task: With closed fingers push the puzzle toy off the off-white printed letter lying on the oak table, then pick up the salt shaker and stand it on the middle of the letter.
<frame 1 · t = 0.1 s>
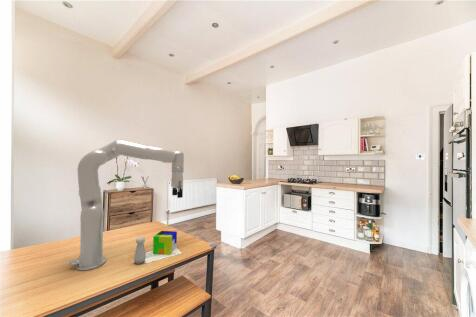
hand: (177, 196, 131), 31 cm above the table, fingers open, 9 cm apart
letter: (161, 253, 117), on the table
salt shaker: (139, 262, 107), on the table
puzzle toy: (165, 250, 121), resting on letter
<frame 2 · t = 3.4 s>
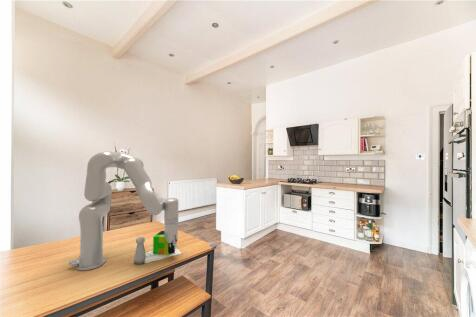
hand: (171, 252, 113), 3 cm above the table, fingers closed
puzzle toy: (165, 250, 121), resting on letter, touching gripper
everything else where it was.
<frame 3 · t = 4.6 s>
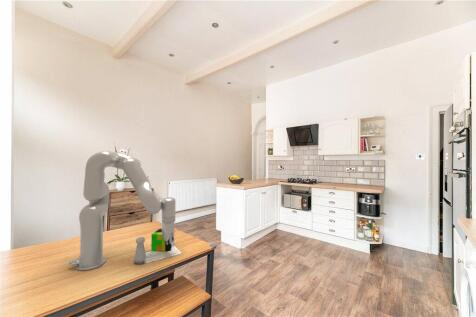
hand: (168, 250, 117), 2 cm above the table, fingers closed
puzzle toy: (163, 248, 125), on the table, touching gripper
everything else where it was.
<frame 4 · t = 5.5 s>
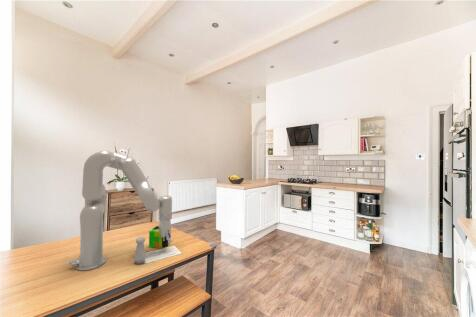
hand: (164, 246, 122), 2 cm above the table, fingers closed
puzzle toy: (160, 244, 130), on the table, touching gripper
everything else where it was.
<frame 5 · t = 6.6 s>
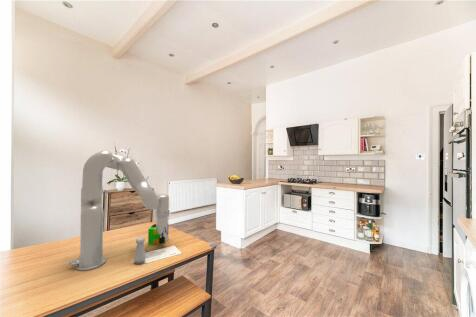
hand: (161, 243, 127), 2 cm above the table, fingers closed
puzzle toy: (158, 241, 135), on the table, touching gripper
everything else where it was.
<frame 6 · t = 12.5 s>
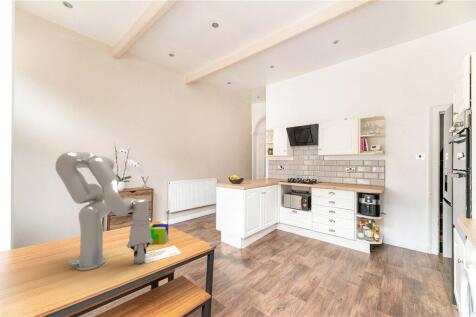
hand: (140, 256, 107), 3 cm above the table, fingers closed on salt shaker, 3 cm apart
salt shaker: (139, 262, 107), on the table, touching gripper
puzzle toy: (158, 241, 135), on the table
when the fingers open (4 cm above the table, at t = 17.0 s): salt shaker stays where it is, resting on letter.
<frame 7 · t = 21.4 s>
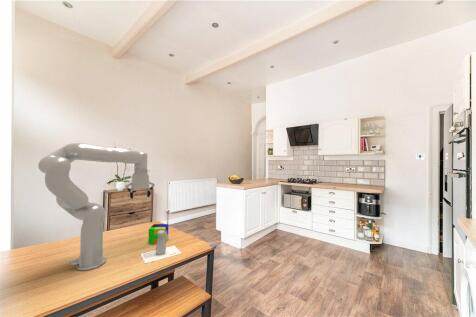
hand: (140, 197, 129), 30 cm above the table, fingers open, 9 cm apart
salt shaker: (160, 253, 117), resting on letter
everything else where it was.
at the end: salt shaker inside the target area on the letter (0.4 cm from its centre), point 0.0 cm above the letter's base; salt shaker tilted 0°; puzzle toy inside the target area (12.9 cm from its centre), on the table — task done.
